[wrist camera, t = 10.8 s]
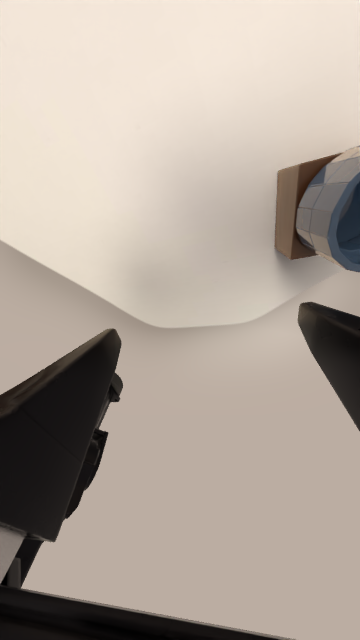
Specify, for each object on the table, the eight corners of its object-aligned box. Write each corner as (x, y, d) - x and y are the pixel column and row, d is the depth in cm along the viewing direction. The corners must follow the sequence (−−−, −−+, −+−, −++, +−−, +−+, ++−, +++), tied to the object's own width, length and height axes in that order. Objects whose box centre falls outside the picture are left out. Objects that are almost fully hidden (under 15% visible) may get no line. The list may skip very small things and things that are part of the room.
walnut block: (346, 234, 17) (381, 244, 14) (274, 248, 18) (290, 260, 15) (366, 147, 14) (418, 132, 10) (277, 170, 15) (299, 163, 12)
